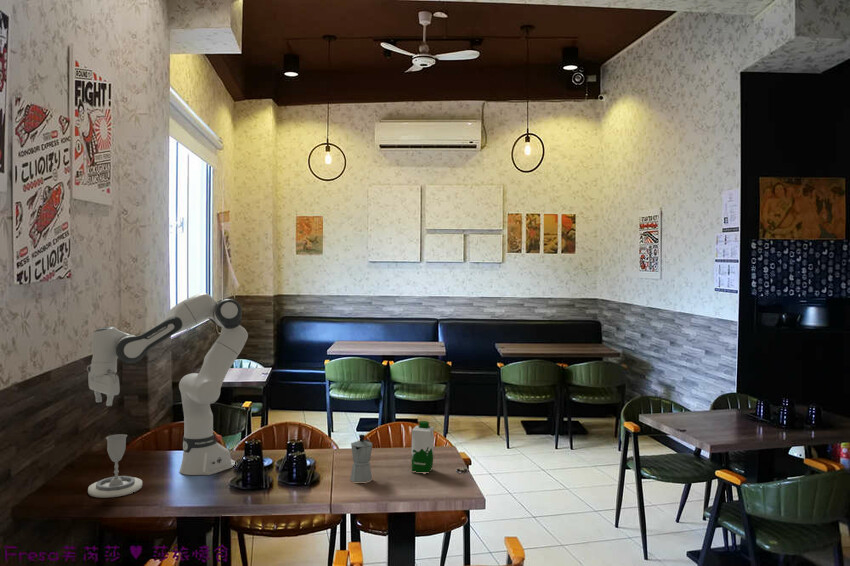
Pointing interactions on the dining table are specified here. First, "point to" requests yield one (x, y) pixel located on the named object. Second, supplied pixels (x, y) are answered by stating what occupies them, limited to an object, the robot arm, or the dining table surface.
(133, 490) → the carrier plate
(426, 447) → the milk carton
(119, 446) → the chalice
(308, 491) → the dining table surface
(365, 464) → the coffee maker
